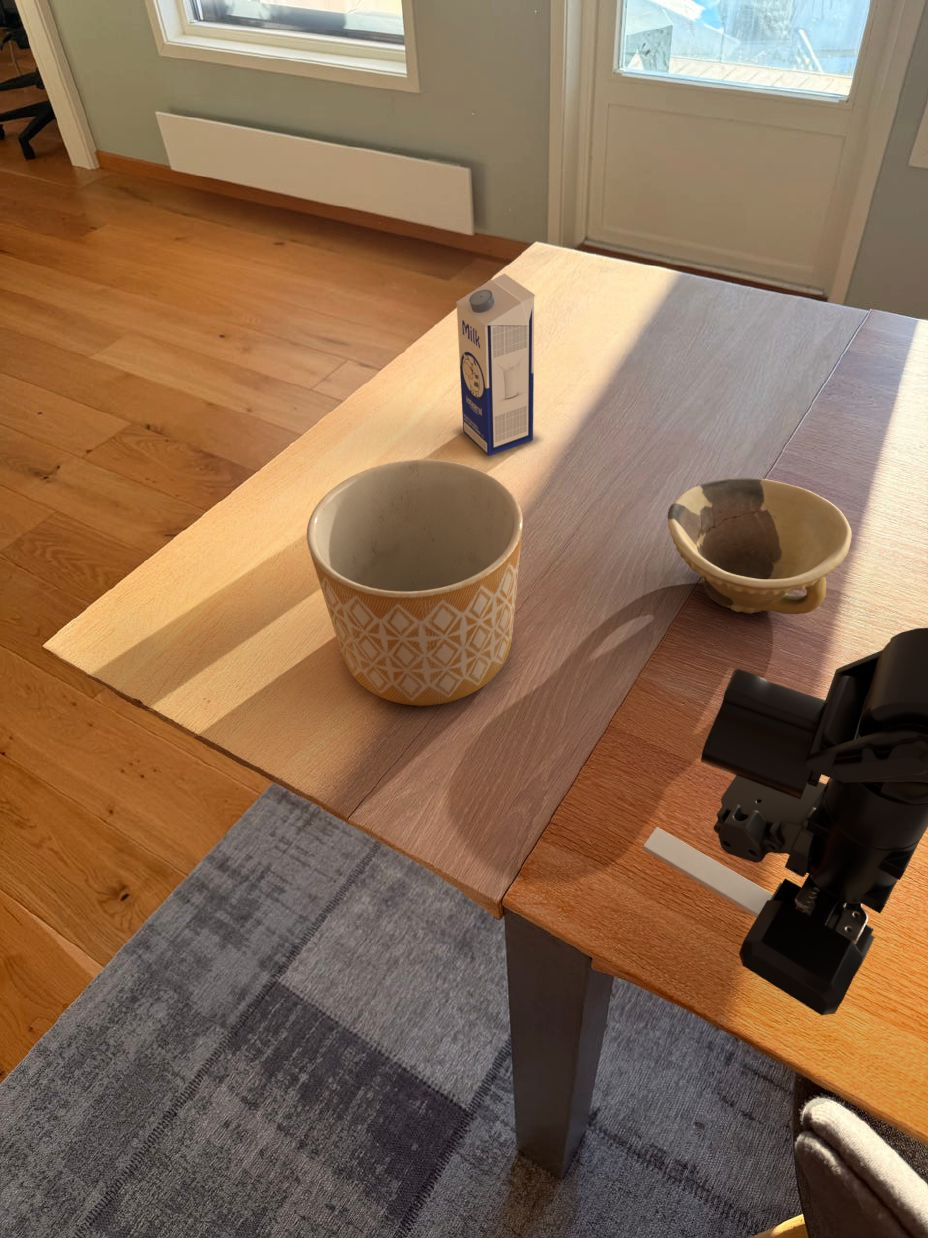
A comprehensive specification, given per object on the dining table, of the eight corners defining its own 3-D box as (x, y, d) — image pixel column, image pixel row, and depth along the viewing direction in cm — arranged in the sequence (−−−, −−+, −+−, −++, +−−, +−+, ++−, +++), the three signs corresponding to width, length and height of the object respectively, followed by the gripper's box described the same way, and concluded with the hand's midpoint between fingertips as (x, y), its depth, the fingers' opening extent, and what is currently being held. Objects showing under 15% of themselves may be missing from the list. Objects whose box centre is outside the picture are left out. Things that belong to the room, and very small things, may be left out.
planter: (309, 710, 87) (277, 585, 76) (359, 576, 101) (339, 452, 89) (508, 732, 84) (506, 605, 73) (532, 591, 98) (534, 465, 86)
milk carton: (534, 440, 118) (535, 293, 104) (489, 456, 116) (484, 308, 102) (505, 415, 123) (503, 271, 108) (462, 430, 120) (454, 285, 106)
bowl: (863, 591, 96) (889, 520, 89) (761, 680, 88) (781, 609, 81) (725, 517, 105) (739, 448, 99) (622, 591, 97) (630, 521, 90)
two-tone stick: (866, 951, 65) (875, 936, 63) (853, 978, 64) (862, 963, 62) (656, 829, 73) (659, 812, 71) (641, 850, 71) (644, 834, 70)
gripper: (809, 657, 63) (767, 787, 74) (679, 848, 53) (652, 965, 64) (977, 732, 58) (905, 859, 69) (868, 959, 48) (803, 1066, 59)
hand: (816, 930), depth 65 cm, fingers closed on two-tone stick, 2 cm apart
